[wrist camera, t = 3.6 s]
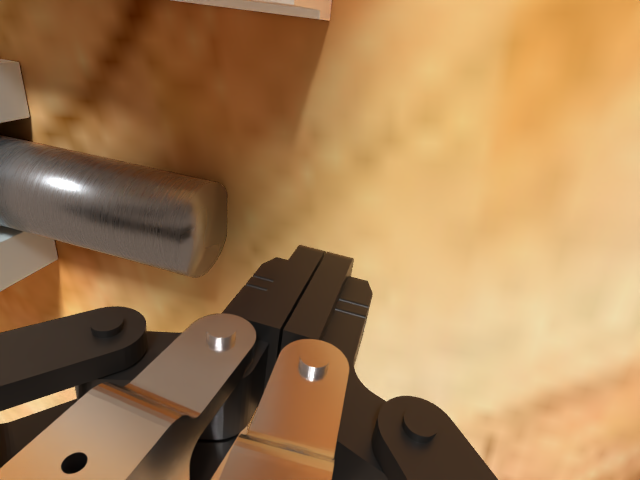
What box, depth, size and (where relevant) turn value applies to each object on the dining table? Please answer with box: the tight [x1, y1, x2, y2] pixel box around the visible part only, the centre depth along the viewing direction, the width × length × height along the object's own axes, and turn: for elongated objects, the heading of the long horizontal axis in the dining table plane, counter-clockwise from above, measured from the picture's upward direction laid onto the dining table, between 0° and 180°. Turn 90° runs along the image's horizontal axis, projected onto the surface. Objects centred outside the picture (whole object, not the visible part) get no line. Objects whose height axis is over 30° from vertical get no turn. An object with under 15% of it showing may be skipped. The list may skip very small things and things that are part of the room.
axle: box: [0, 135, 227, 277], centre depth 15 cm, size 16×3×3 cm, turn 81°
